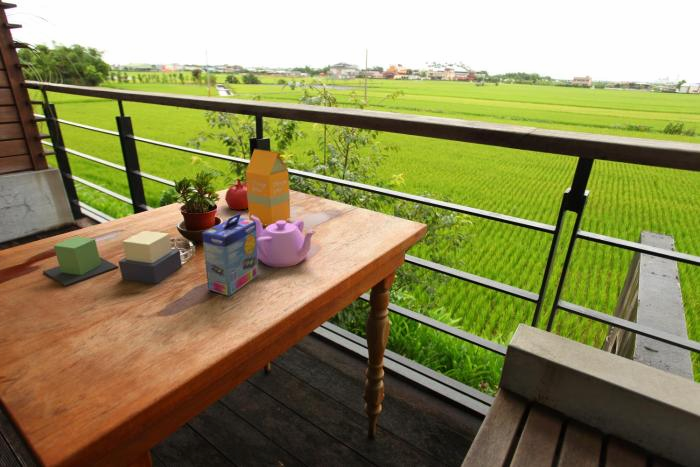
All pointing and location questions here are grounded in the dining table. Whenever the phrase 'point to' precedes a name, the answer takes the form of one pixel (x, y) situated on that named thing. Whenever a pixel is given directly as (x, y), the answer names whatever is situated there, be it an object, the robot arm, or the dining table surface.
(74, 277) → the mat
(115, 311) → the dining table surface
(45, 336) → the dining table surface
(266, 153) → the orange juice
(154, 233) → the cream block
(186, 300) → the dining table surface
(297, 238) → the teapot
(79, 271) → the green block
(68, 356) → the dining table surface
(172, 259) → the navy block
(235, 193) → the pomegranate
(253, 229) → the ink cartridge box
